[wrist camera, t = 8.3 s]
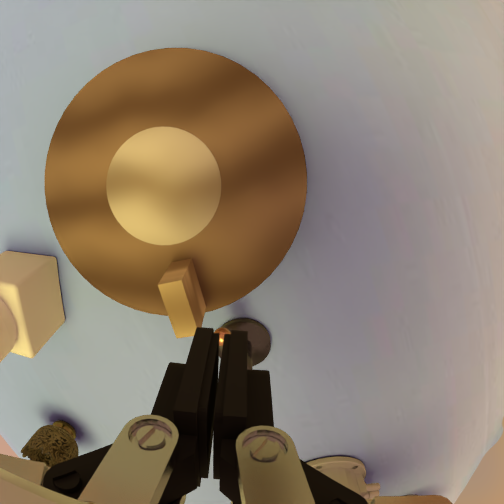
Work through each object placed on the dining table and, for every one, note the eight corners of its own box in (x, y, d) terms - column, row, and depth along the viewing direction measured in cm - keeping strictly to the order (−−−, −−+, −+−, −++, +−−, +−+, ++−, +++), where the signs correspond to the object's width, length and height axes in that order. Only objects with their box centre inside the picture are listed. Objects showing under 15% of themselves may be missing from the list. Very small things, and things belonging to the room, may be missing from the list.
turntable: (38, 106, 21) (-6, 102, 15) (270, 30, 20) (278, -3, 14) (99, 319, 27) (72, 356, 21) (321, 278, 26) (339, 313, 20)
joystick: (277, 353, 30) (282, 393, 25) (228, 367, 30) (225, 408, 25) (250, 289, 28) (250, 324, 22) (197, 307, 28) (186, 343, 23)
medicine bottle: (16, 310, 29) (-47, 370, 17) (6, 249, 26) (-72, 297, 15) (66, 321, 29) (6, 394, 17) (57, 255, 27) (-22, 314, 15)
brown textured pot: (36, 404, 33) (11, 442, 26) (78, 413, 33) (55, 457, 26) (55, 438, 36) (37, 476, 28) (96, 447, 36) (80, 489, 28)
